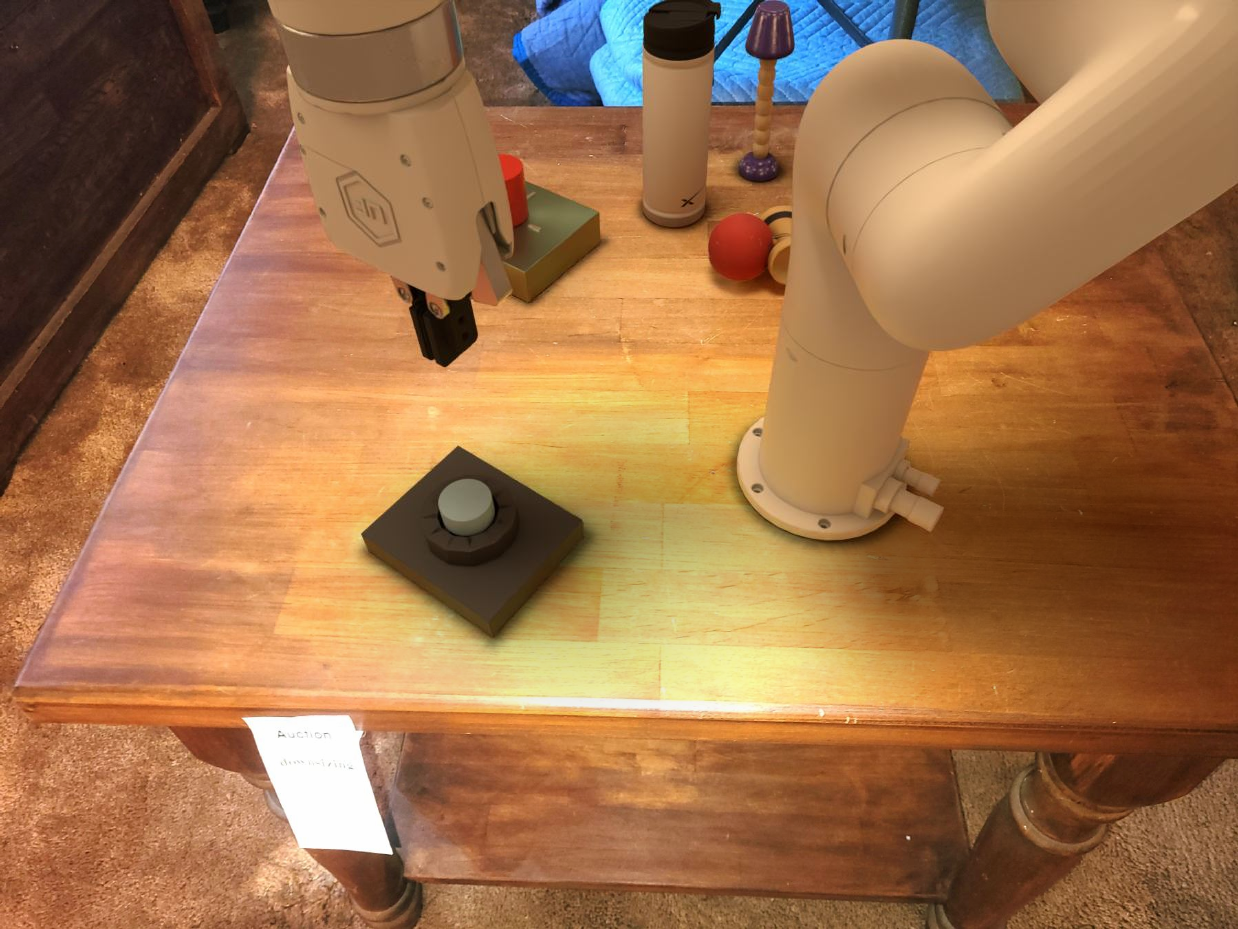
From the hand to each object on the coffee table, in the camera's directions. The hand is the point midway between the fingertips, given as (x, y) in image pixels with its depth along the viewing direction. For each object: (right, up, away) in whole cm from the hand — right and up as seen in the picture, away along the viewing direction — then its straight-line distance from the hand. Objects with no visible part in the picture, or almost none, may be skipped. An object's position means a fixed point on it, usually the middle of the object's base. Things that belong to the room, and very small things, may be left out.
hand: (451, 348), depth 52 cm
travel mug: (+16, +19, +36) cm, 44 cm away
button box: (0, -13, +11) cm, 17 cm away
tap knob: (-1, +17, +30) cm, 35 cm away
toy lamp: (+25, +24, +41) cm, 53 cm away
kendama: (+27, +11, +30) cm, 42 cm away
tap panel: (-1, +14, +33) cm, 36 cm away
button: (0, -10, +8) cm, 13 cm away
